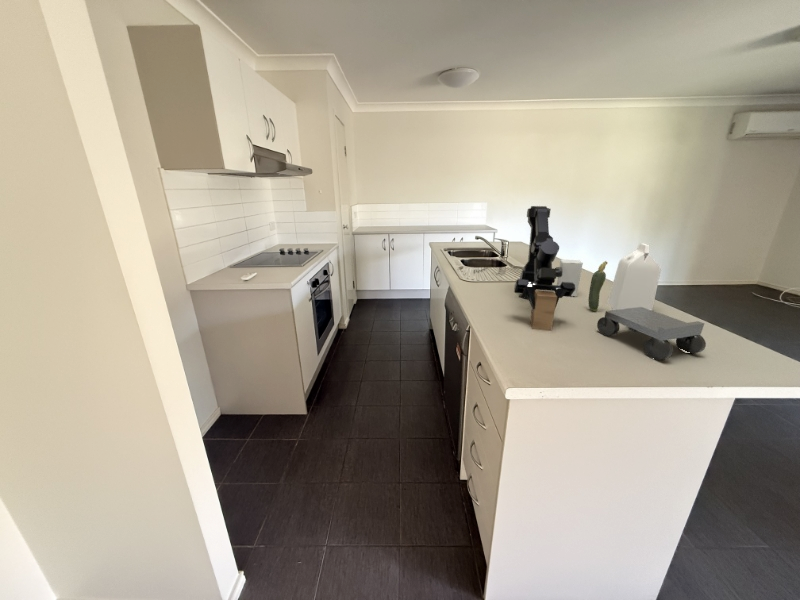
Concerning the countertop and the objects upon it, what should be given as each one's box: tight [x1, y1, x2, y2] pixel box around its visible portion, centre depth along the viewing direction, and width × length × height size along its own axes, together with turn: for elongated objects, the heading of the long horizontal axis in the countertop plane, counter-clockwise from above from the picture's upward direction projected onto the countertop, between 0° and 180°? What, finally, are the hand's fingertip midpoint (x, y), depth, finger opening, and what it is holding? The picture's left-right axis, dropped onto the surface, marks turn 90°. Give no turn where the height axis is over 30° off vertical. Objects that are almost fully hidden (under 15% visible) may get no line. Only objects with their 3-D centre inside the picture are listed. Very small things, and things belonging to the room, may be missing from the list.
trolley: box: [596, 307, 707, 361], centre depth 96 cm, size 22×15×10 cm
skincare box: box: [556, 259, 584, 297], centre depth 141 cm, size 8×7×16 cm
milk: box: [607, 242, 662, 311], centre depth 121 cm, size 12×12×26 cm
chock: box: [529, 290, 557, 331], centre depth 108 cm, size 6×6×12 cm
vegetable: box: [587, 260, 608, 313], centre depth 121 cm, size 4×4×20 cm
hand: (543, 309), depth 106 cm, fingers closed on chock, 6 cm apart
